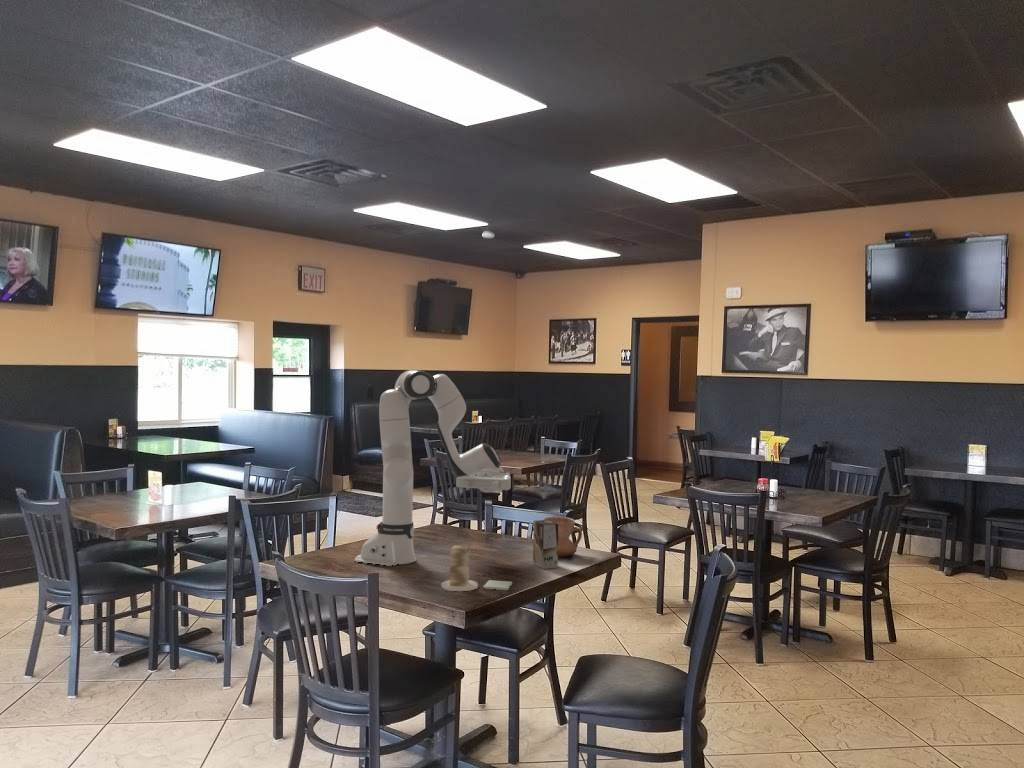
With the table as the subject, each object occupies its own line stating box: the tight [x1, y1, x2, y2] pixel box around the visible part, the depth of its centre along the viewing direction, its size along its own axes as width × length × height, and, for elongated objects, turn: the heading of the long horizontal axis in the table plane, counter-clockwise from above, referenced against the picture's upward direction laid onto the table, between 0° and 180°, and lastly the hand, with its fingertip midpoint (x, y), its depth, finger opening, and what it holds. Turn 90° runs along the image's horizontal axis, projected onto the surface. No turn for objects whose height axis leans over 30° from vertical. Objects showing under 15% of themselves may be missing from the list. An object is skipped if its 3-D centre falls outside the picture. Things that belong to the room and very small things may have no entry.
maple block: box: [449, 545, 470, 587], centre depth 248 cm, size 5×5×12 cm
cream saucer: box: [440, 579, 479, 592], centre depth 248 cm, size 12×12×1 cm
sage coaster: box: [483, 579, 513, 591], centre depth 250 cm, size 8×8×1 cm
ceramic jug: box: [542, 516, 583, 558], centre depth 296 cm, size 18×14×14 cm
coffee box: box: [532, 519, 559, 570], centre depth 279 cm, size 9×6×16 cm
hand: (479, 485), depth 274 cm, fingers open, 8 cm apart
